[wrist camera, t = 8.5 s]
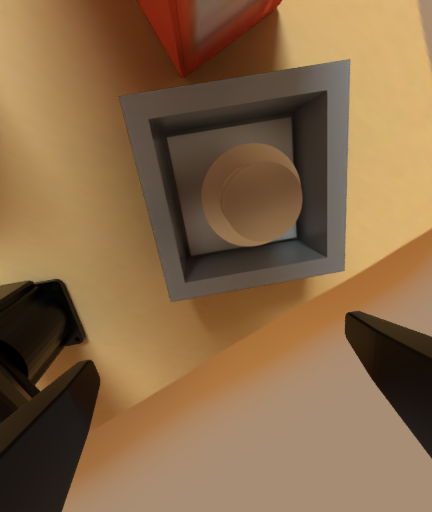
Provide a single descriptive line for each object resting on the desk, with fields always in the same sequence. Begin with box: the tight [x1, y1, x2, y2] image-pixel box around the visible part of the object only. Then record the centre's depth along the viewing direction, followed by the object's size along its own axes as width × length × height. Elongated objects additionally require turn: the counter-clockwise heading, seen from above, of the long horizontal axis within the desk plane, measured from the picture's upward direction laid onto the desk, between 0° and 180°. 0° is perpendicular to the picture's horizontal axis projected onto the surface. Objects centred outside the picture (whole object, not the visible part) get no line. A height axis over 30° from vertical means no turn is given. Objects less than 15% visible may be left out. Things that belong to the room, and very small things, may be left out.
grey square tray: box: [119, 59, 350, 302], centre depth 17 cm, size 12×12×6 cm
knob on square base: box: [167, 117, 303, 256], centre depth 15 cm, size 9×9×8 cm
